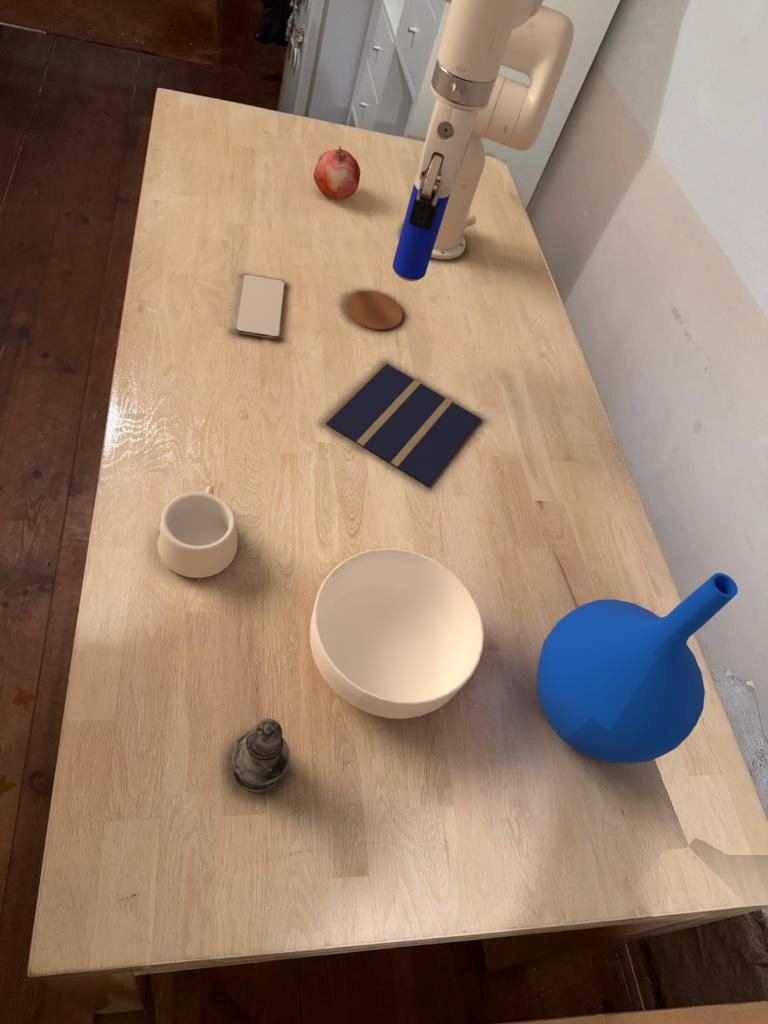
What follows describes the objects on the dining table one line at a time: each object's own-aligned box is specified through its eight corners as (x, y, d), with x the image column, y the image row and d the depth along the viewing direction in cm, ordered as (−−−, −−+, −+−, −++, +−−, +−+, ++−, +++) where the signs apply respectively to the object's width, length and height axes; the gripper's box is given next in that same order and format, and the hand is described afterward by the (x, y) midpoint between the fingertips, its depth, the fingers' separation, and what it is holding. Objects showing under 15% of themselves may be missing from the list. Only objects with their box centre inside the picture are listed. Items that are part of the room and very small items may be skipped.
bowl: (483, 630, 95) (506, 597, 88) (425, 764, 83) (447, 738, 76) (348, 559, 97) (361, 521, 90) (272, 680, 85) (280, 647, 78)
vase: (680, 766, 90) (857, 658, 67) (550, 801, 84) (695, 696, 60) (614, 631, 99) (747, 497, 76) (492, 653, 93) (598, 514, 70)
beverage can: (428, 269, 114) (457, 178, 102) (419, 287, 111) (447, 196, 99) (397, 257, 114) (422, 164, 102) (387, 274, 111) (411, 181, 99)
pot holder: (386, 364, 121) (386, 363, 121) (480, 420, 118) (481, 418, 118) (325, 424, 110) (326, 423, 110) (428, 487, 107) (428, 485, 107)
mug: (228, 587, 91) (231, 561, 86) (147, 572, 89) (146, 545, 85) (247, 510, 98) (250, 482, 93) (173, 496, 97) (173, 466, 92)
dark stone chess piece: (231, 739, 80) (238, 695, 70) (285, 739, 81) (300, 696, 72) (228, 796, 76) (236, 757, 67) (286, 795, 78) (301, 756, 68)
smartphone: (234, 330, 117) (243, 273, 126) (234, 333, 118) (243, 275, 127) (279, 338, 118) (285, 280, 127) (278, 340, 119) (284, 283, 128)
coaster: (375, 286, 133) (375, 284, 133) (413, 318, 130) (414, 317, 130) (334, 303, 128) (334, 301, 127) (373, 337, 125) (373, 335, 124)
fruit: (335, 176, 152) (344, 127, 145) (365, 201, 149) (376, 153, 142) (300, 185, 148) (307, 135, 140) (331, 211, 144) (340, 162, 137)
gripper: (478, 123, 85) (436, 257, 99) (503, 66, 96) (461, 195, 110) (417, 100, 85) (383, 238, 99) (448, 46, 95) (413, 178, 110)
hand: (424, 214), depth 104 cm, fingers closed on beverage can, 5 cm apart
